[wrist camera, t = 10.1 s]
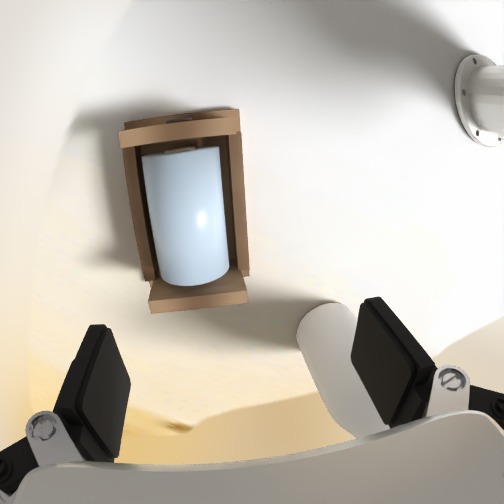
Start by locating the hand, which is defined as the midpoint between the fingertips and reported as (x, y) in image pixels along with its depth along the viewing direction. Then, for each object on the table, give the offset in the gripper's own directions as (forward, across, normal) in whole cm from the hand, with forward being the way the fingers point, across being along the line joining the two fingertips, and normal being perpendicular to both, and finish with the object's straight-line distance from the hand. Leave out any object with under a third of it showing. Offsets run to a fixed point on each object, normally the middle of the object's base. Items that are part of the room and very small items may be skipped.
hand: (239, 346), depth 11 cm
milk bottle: (+20, -12, +16) cm, 28 cm away
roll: (+19, +3, 0) cm, 19 cm away
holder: (+20, +3, 0) cm, 20 cm away
